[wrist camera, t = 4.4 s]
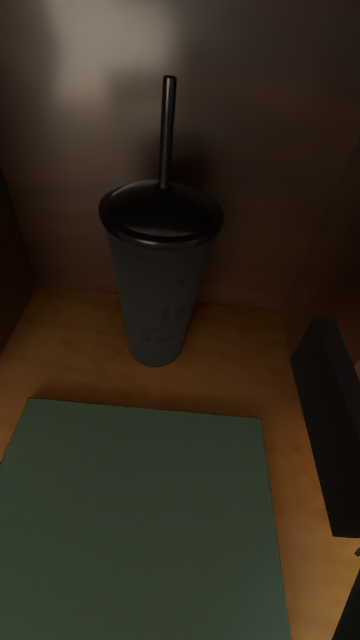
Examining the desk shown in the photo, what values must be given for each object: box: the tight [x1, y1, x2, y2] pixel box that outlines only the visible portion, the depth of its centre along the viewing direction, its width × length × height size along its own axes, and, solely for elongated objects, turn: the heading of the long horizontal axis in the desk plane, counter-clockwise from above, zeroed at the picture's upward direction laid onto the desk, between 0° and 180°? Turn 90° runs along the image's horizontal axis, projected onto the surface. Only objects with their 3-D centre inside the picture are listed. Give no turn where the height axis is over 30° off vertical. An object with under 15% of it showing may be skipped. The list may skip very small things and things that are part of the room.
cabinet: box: [0, 0, 360, 380], centre depth 20 cm, size 14×28×26 cm, turn 88°
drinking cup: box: [98, 75, 224, 367], centre depth 22 cm, size 8×8×20 cm
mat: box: [0, 398, 291, 640], centre depth 20 cm, size 13×18×1 cm
